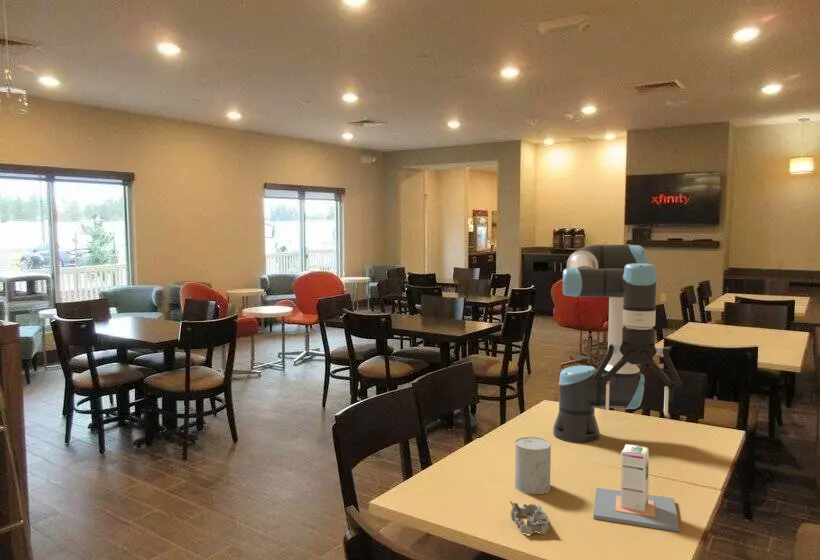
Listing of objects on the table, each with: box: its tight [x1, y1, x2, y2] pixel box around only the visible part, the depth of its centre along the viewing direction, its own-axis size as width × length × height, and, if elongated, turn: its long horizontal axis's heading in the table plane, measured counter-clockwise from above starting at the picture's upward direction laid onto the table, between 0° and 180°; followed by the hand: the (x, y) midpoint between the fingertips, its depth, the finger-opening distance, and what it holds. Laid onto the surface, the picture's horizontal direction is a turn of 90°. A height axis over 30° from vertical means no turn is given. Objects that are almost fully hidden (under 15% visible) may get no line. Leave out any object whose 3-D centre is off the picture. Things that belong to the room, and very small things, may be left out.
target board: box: [592, 487, 680, 532], centre depth 148 cm, size 19×16×1 cm
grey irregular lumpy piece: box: [509, 500, 551, 535], centre depth 141 cm, size 11×8×4 cm
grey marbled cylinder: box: [514, 436, 552, 495], centre depth 161 cm, size 10×10×12 cm
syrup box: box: [620, 443, 650, 512], centre depth 147 cm, size 6×6×14 cm
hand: (636, 411), depth 147 cm, fingers open, 13 cm apart
